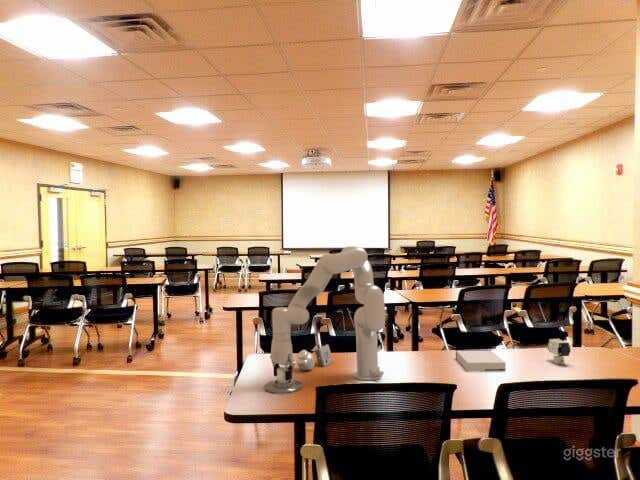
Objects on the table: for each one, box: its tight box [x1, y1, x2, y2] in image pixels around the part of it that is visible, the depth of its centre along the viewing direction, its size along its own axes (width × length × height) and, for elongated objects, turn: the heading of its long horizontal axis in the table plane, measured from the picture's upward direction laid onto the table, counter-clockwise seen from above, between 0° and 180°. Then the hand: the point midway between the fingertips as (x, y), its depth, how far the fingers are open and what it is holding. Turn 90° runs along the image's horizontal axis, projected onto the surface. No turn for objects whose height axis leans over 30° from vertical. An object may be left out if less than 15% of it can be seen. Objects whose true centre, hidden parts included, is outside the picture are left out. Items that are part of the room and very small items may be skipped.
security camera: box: [547, 337, 571, 365], centre depth 228 cm, size 6×12×12 cm, turn 6°
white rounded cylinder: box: [276, 366, 289, 384], centre depth 203 cm, size 5×5×8 cm
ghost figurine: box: [296, 349, 316, 371], centre depth 227 cm, size 9×10×10 cm
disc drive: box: [455, 349, 507, 373], centre depth 229 cm, size 18×22×5 cm
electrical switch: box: [314, 344, 334, 368], centre depth 237 cm, size 9×5×9 cm, turn 152°
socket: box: [263, 379, 303, 394], centre depth 203 cm, size 16×16×2 cm
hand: (282, 377), depth 203 cm, fingers open, 7 cm apart
